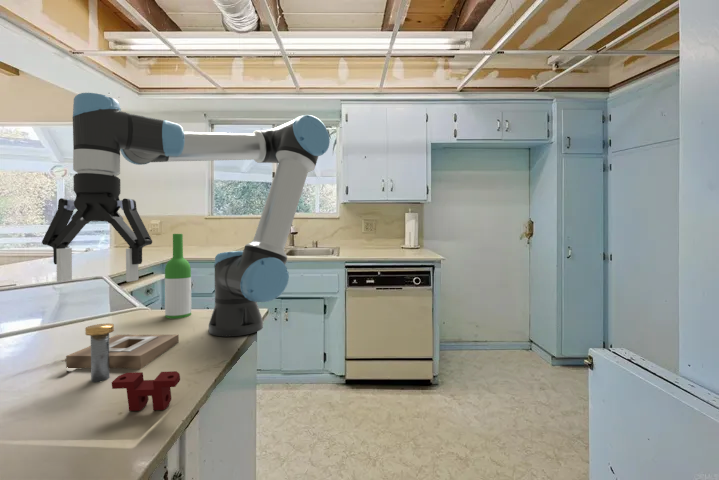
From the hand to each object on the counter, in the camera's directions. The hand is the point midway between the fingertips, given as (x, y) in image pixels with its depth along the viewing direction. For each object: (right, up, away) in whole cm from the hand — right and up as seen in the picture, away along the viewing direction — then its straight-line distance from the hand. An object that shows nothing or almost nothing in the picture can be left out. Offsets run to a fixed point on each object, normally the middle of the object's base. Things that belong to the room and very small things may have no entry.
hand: (98, 281), depth 70 cm
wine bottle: (-8, -20, +46) cm, 51 cm away
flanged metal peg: (0, -20, 0) cm, 20 cm away
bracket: (+12, -18, -11) cm, 24 cm away
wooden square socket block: (-3, -20, +13) cm, 24 cm away
